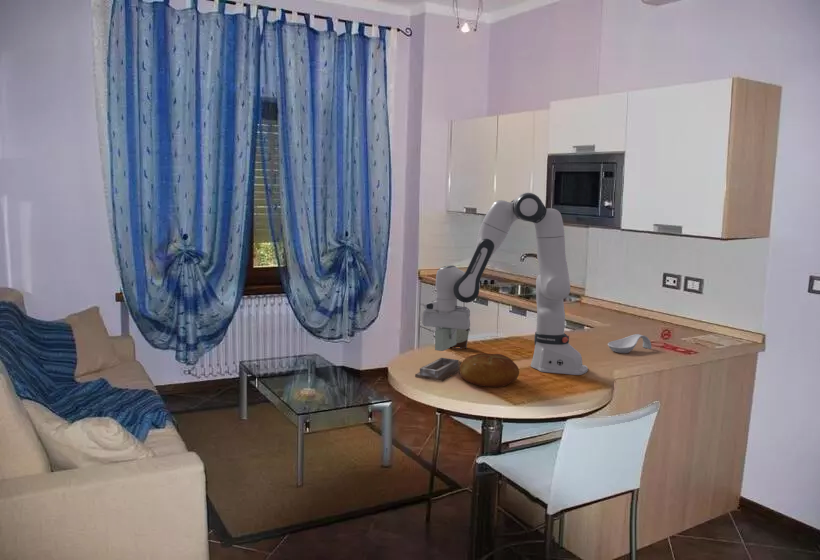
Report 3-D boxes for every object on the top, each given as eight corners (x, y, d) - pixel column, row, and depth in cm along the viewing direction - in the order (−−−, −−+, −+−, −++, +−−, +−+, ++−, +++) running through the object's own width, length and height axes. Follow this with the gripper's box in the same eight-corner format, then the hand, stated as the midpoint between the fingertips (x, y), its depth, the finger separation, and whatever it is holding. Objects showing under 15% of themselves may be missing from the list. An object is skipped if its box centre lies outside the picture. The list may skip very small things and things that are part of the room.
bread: (532, 381, 252) (534, 355, 251) (496, 393, 235) (498, 365, 233) (482, 369, 267) (483, 345, 266) (445, 380, 250) (446, 354, 248)
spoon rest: (622, 356, 297) (623, 340, 296) (601, 350, 306) (602, 335, 306) (657, 351, 309) (658, 335, 308) (636, 345, 319) (637, 331, 318)
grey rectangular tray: (462, 369, 266) (462, 360, 265) (442, 381, 248) (442, 371, 248) (437, 365, 271) (437, 357, 270) (415, 376, 253) (415, 367, 253)
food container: (471, 346, 308) (472, 324, 307) (469, 349, 302) (470, 327, 301) (445, 344, 311) (446, 322, 310) (442, 346, 305) (443, 325, 304)
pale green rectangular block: (456, 344, 283) (456, 325, 282) (442, 351, 270) (443, 331, 269) (448, 343, 284) (448, 324, 283) (434, 350, 272) (435, 330, 271)
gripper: (472, 305, 273) (472, 339, 275) (427, 302, 283) (427, 334, 284) (467, 308, 268) (466, 342, 270) (420, 304, 277) (420, 337, 279)
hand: (445, 338), depth 277 cm, fingers closed on pale green rectangular block, 3 cm apart
